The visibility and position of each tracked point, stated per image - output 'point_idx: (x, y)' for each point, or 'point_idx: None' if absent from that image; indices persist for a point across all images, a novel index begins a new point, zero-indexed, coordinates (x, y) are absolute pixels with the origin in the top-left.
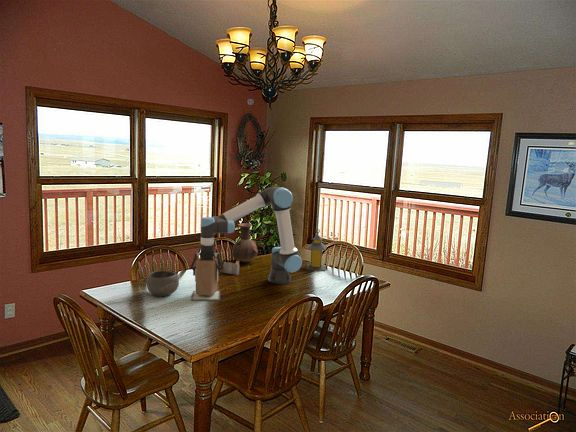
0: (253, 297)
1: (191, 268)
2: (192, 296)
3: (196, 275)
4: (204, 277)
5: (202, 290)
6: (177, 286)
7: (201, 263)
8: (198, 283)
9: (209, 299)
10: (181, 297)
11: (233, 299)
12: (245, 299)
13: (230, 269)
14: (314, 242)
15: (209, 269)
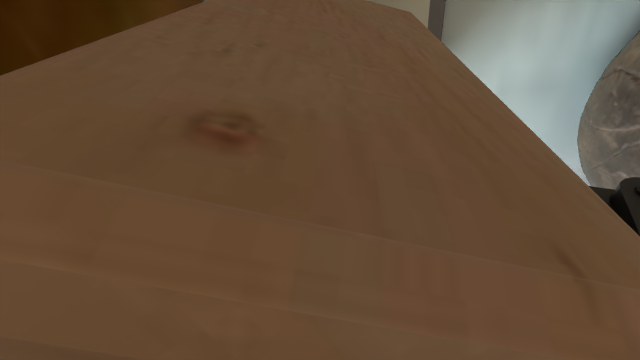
0: (9, 68)
1: (638, 189)
2: (439, 20)
3: (473, 74)
4: (323, 28)
5: (353, 2)
6: (620, 76)
7: (455, 237)
8: (409, 29)
9: None
10: (534, 9)
11: (107, 4)
12: (26, 15)
13: None
14: None
15: (141, 46)
